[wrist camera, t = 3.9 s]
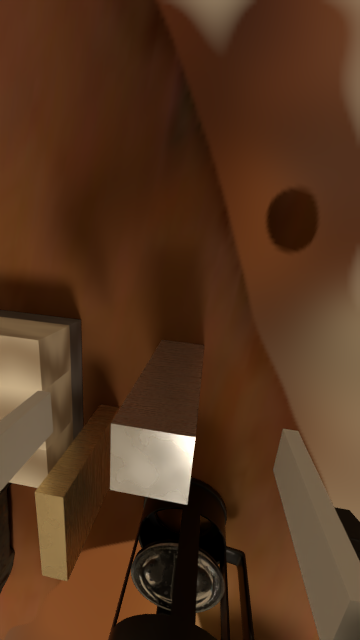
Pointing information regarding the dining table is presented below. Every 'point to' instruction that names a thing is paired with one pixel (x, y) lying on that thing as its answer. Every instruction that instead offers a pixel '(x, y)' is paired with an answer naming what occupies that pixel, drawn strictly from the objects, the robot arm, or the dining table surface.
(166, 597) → the french press
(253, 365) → the dining table surface
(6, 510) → the hand tool
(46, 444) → the bore block
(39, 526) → the beige rectangular slab
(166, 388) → the square bit
